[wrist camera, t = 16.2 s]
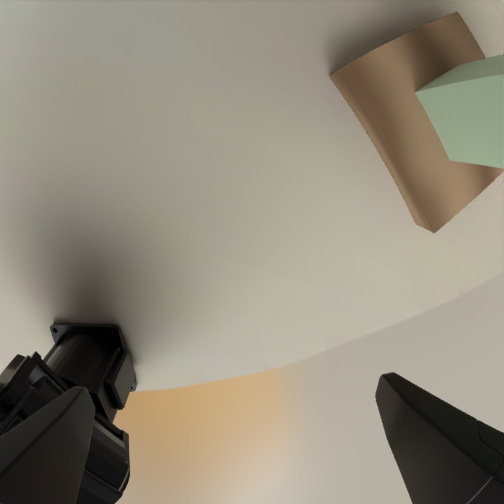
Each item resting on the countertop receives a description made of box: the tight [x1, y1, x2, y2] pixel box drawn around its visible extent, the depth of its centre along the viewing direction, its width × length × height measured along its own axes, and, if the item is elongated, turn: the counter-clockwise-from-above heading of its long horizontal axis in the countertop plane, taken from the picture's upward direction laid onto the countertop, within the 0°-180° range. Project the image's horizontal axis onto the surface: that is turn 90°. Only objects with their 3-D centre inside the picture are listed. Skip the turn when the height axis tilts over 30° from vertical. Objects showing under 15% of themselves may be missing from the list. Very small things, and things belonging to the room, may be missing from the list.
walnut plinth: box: [329, 12, 504, 233], centre depth 17 cm, size 12×12×2 cm
